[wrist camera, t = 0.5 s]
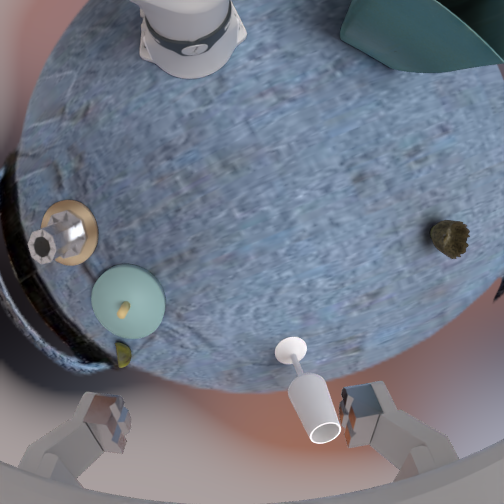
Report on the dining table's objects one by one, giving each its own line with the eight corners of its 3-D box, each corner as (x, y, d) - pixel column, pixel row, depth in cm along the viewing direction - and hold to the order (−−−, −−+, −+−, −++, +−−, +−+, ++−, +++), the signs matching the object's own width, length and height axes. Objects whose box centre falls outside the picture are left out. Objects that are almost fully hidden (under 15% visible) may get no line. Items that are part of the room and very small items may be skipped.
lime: (123, 361, 60) (118, 375, 56) (108, 344, 59) (101, 357, 54) (139, 352, 60) (134, 366, 55) (123, 334, 59) (117, 347, 54)
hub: (86, 272, 55) (73, 283, 49) (154, 256, 56) (147, 267, 49) (109, 337, 59) (100, 354, 52) (174, 326, 59) (171, 343, 53)
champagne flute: (291, 330, 62) (328, 411, 39) (313, 347, 64) (355, 426, 41) (267, 353, 63) (293, 439, 40) (290, 369, 65) (322, 452, 42)
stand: (37, 209, 51) (34, 210, 49) (89, 192, 51) (87, 192, 50) (54, 269, 54) (51, 271, 53) (106, 256, 55) (104, 258, 53)
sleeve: (44, 217, 50) (16, 227, 40) (80, 205, 51) (55, 214, 41) (55, 259, 52) (30, 276, 43) (92, 250, 53) (70, 267, 43)
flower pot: (342, -24, 45) (407, -98, 18) (422, 24, 49) (509, -19, 22) (313, 44, 49) (385, -31, 22) (403, 93, 53) (507, 66, 26)
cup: (443, 250, 62) (465, 260, 55) (418, 247, 61) (441, 257, 54) (449, 217, 60) (473, 224, 53) (425, 212, 59) (448, 219, 52)
